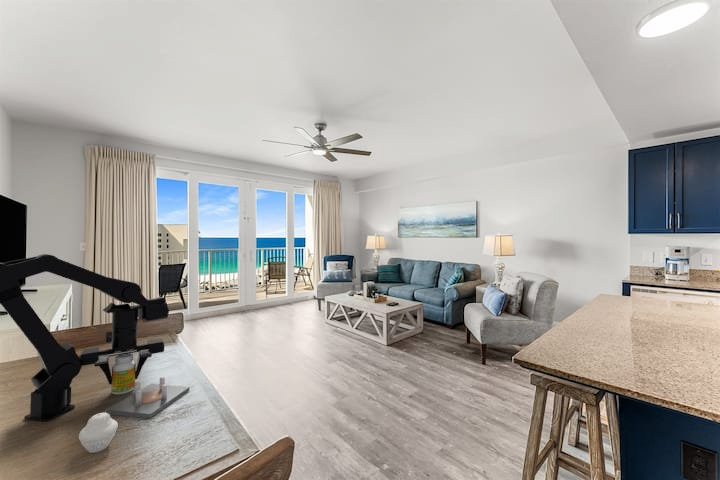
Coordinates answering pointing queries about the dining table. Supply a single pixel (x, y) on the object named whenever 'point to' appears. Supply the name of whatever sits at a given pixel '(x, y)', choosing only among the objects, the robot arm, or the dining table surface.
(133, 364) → the supplement bottle
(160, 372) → the dining table surface
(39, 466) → the dining table surface
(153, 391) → the pin tray
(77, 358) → the robot arm
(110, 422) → the white lump
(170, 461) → the dining table surface
